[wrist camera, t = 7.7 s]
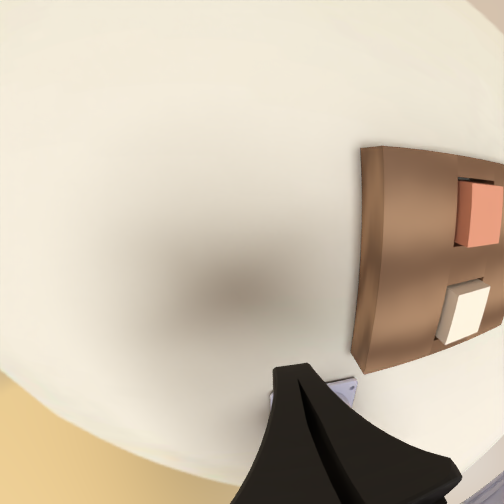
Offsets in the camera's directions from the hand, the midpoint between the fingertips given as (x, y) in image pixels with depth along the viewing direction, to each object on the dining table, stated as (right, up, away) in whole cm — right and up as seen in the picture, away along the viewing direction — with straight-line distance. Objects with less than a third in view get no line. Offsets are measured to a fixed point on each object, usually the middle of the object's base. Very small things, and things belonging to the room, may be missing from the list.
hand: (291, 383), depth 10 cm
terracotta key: (+15, +9, +8) cm, 19 cm away
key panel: (+15, +5, +9) cm, 19 cm away
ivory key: (+15, +1, +10) cm, 18 cm away
